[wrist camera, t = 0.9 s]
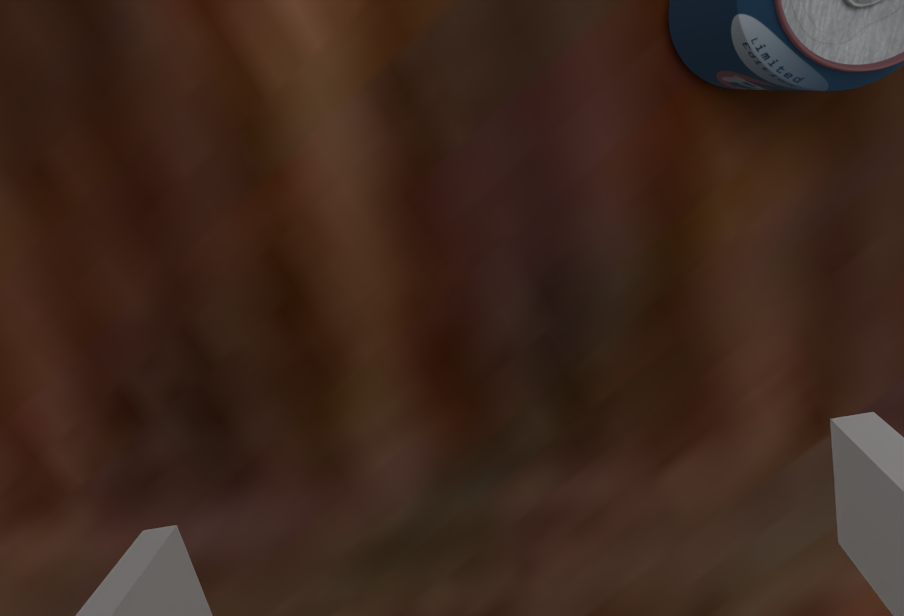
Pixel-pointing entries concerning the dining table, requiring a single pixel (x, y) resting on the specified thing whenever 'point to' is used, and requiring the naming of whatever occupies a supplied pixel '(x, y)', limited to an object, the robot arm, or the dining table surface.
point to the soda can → (789, 42)
